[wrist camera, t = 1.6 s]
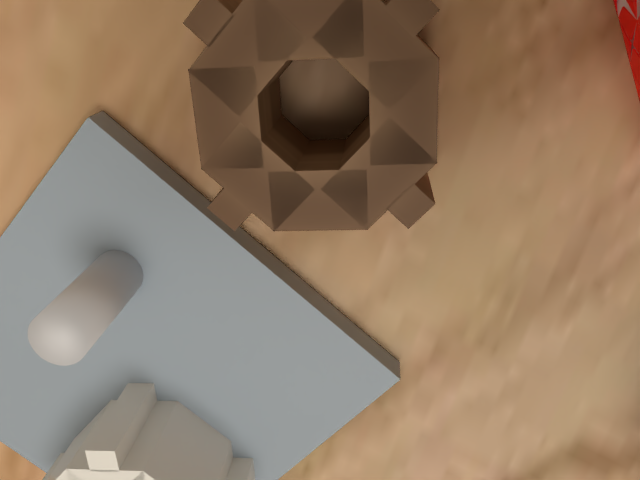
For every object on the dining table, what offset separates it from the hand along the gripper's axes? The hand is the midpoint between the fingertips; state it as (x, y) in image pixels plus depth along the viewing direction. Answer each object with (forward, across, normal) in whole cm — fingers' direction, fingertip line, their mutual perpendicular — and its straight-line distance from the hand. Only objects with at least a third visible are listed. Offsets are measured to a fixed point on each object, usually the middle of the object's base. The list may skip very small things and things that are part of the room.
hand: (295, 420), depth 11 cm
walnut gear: (+17, -1, +3) cm, 18 cm away
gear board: (+17, -11, -10) cm, 23 cm away
